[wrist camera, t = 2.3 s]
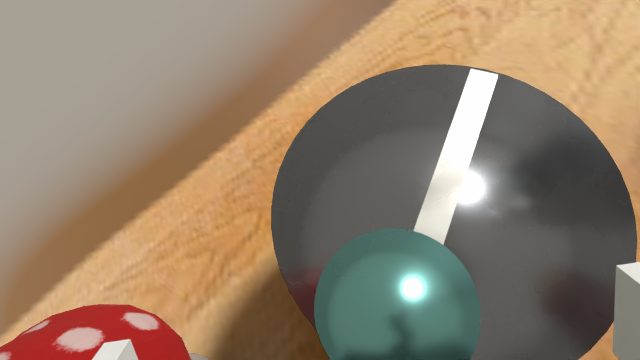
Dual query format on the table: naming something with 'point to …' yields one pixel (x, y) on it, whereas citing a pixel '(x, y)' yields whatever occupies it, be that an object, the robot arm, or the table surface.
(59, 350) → the decorative mushroom
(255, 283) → the table surface
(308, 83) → the table surface
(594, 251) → the crank wheel
